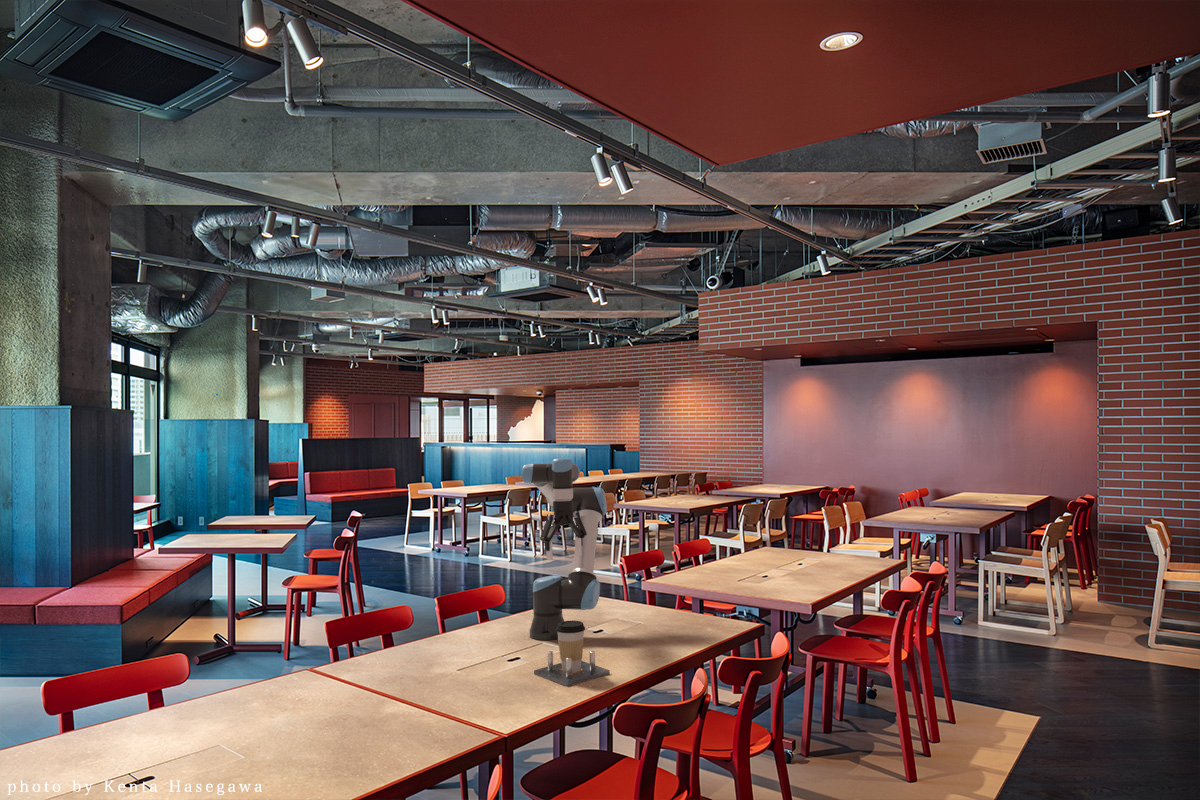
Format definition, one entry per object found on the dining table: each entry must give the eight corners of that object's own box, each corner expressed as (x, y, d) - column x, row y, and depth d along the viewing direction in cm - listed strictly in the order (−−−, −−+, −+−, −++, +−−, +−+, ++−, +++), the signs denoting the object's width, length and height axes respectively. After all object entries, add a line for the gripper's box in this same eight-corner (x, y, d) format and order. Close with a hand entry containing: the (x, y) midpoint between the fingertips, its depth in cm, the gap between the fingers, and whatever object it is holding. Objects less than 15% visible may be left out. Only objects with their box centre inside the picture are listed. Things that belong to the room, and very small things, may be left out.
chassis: (576, 662, 255) (575, 641, 256) (609, 673, 241) (609, 651, 242) (534, 673, 244) (533, 652, 244) (566, 686, 230) (566, 663, 230)
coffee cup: (587, 664, 247) (586, 620, 248) (584, 673, 237) (583, 627, 238) (559, 664, 248) (558, 620, 249) (554, 673, 238) (553, 627, 239)
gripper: (582, 497, 282) (584, 552, 281) (529, 501, 266) (530, 560, 264) (595, 498, 276) (596, 554, 275) (541, 502, 260) (542, 562, 259)
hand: (564, 557), depth 270 cm, fingers open, 13 cm apart
